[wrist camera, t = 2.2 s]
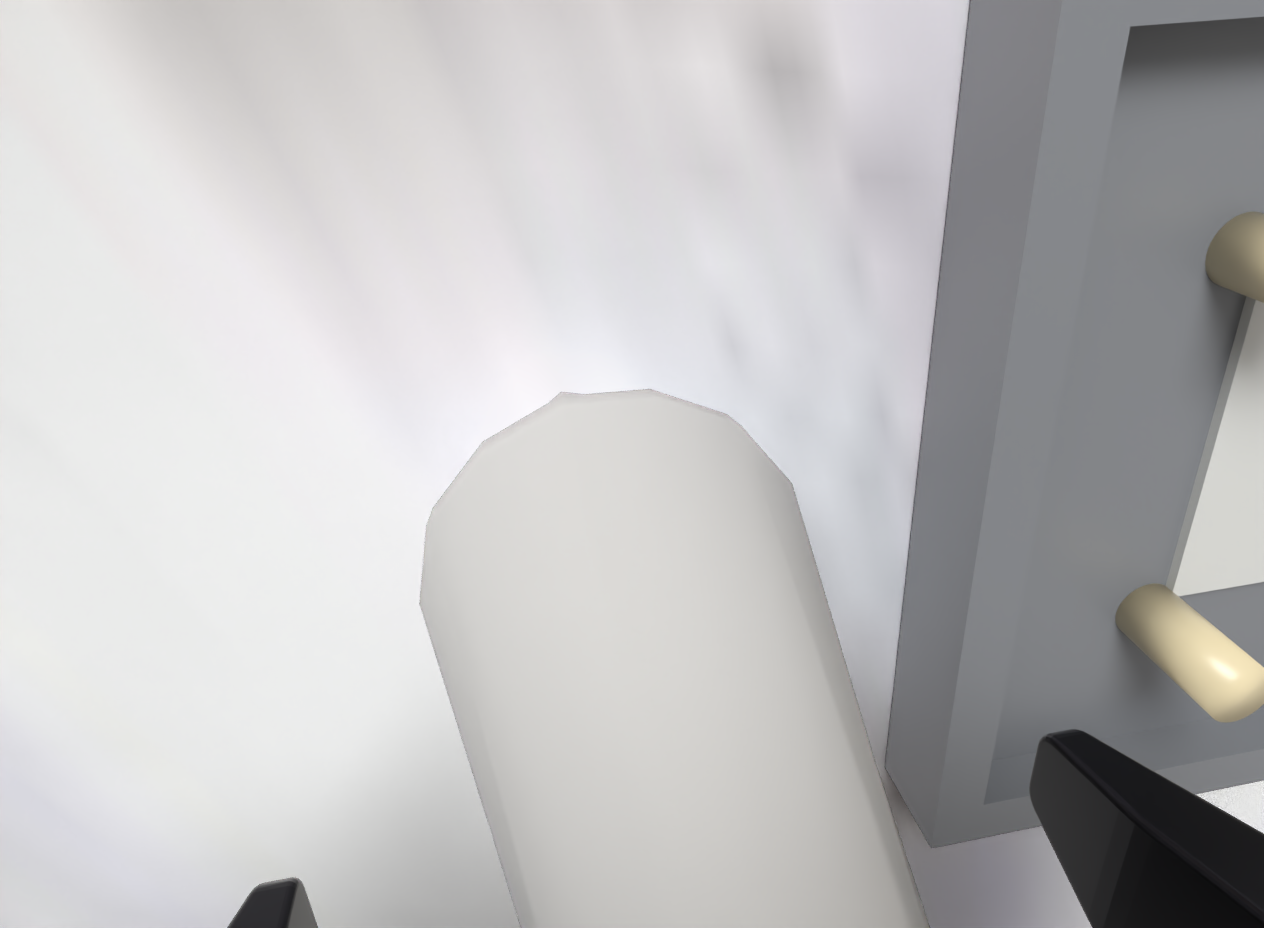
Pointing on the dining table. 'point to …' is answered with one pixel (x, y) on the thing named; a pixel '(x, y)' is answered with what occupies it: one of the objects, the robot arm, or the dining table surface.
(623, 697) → the salt shaker
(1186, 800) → the robot arm
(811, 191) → the dining table surface
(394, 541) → the dining table surface
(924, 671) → the pin tray
